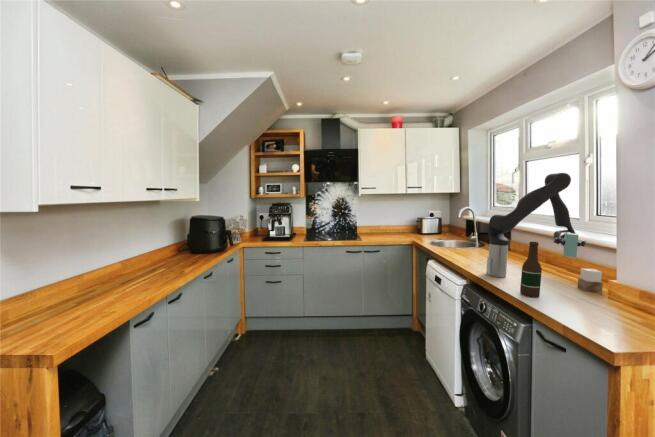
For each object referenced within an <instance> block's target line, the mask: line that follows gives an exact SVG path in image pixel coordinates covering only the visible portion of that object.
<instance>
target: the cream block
mask: <svg viewBox="0 0 655 437" xmlns="http://www.w3.org/2000/svg"><path fill="white" fill-rule="evenodd" d="M602 275H603V271H600V270H599V269H596V268H584V267H581V268H580V276H579V278H581V279H583V280H585V281H589V282H602Z"/></svg>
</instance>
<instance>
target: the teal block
mask: <svg viewBox="0 0 655 437" xmlns="http://www.w3.org/2000/svg"><path fill="white" fill-rule="evenodd" d="M564 240H565V245H564V246H563V247H562V248H563V250H562V256H563V257H566V258H577V253H578V246H577V245H578V240H579V234H578V233H576V234H571V233H565V237H564Z"/></svg>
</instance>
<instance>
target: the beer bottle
mask: <svg viewBox="0 0 655 437" xmlns="http://www.w3.org/2000/svg"><path fill="white" fill-rule="evenodd" d="M528 244H529V248H528V255H527V258H526V260H525V261H524V262H523V263H522V267H521V275H520V276H521V278H520V285H519V286H520V288H519V290H520V291H519V292H520V296H521V295H522V296H523V295H524V297H527V298H534V299H535V298H540V294H541V283H542V265H541V264H540V263H541V262H540V261H539V258H538V257H539V256H538V255H539V253H538V252H539V250H538V249H539V245H540V244H539V242H538V241H529V243H528Z"/></svg>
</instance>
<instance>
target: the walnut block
mask: <svg viewBox="0 0 655 437" xmlns="http://www.w3.org/2000/svg"><path fill="white" fill-rule="evenodd" d="M603 285H604V283H603V282H602V281H601V282H589V281H585V280H583V279H581V278H580V277H578V278H577V287H578V288H577V289H579V288H580V290H581V291H583V292H588V293H597V292H601V293H600V294H602V293H603V287H604V286H603Z"/></svg>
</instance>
